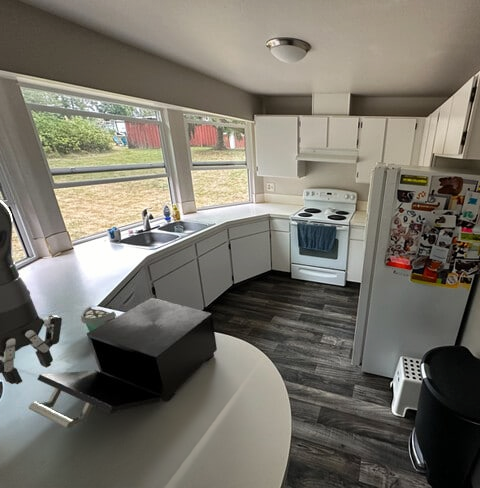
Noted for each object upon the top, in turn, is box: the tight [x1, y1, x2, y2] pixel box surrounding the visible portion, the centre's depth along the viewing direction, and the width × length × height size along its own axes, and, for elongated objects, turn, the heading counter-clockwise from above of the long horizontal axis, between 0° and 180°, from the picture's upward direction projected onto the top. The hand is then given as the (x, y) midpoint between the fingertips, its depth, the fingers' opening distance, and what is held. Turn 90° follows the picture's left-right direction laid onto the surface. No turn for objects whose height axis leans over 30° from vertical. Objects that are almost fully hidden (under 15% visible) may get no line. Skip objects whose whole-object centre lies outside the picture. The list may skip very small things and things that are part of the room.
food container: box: [80, 306, 117, 332], centre depth 92 cm, size 12×6×10 cm, turn 76°
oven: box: [86, 297, 218, 402], centre depth 79 cm, size 20×26×17 cm
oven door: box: [28, 370, 162, 430], centre depth 62 cm, size 6×26×16 cm
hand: (32, 373), depth 52 cm, fingers open, 4 cm apart
